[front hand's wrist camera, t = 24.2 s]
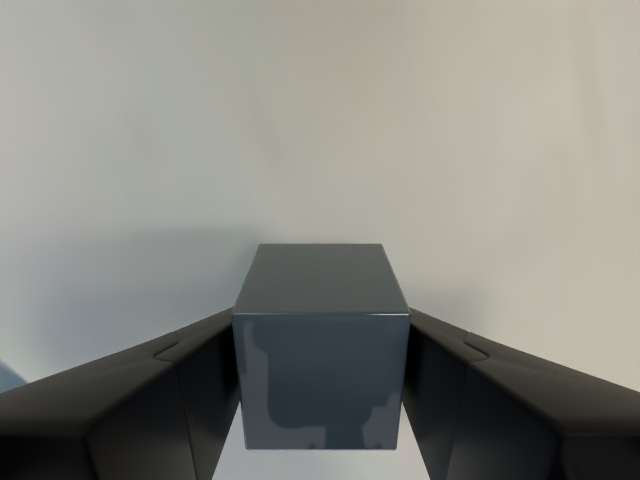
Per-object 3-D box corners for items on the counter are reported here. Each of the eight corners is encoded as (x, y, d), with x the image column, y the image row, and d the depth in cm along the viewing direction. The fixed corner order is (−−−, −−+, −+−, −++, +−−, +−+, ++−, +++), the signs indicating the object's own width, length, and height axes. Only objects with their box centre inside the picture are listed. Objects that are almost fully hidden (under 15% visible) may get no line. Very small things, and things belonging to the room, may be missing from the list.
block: (259, 243, 12) (229, 313, 8) (382, 242, 12) (412, 312, 8) (266, 350, 13) (244, 452, 10) (374, 350, 13) (397, 452, 10)
